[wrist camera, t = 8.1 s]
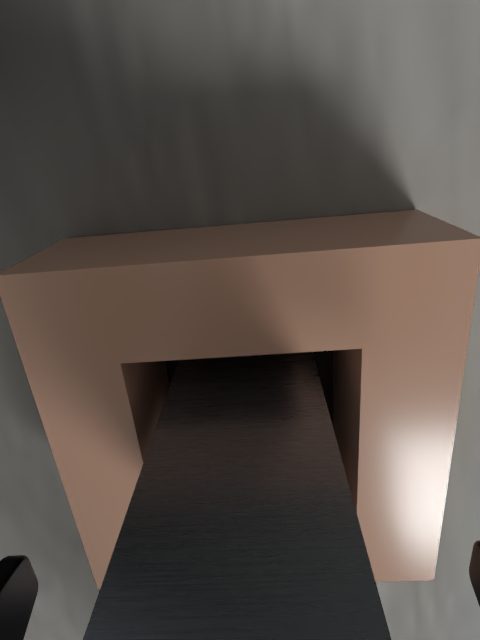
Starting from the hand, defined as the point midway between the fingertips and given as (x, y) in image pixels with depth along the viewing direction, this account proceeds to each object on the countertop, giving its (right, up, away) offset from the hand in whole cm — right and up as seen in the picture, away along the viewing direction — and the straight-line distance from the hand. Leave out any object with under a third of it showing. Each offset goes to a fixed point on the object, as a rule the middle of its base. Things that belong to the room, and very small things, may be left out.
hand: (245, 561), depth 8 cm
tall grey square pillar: (0, +3, +7) cm, 7 cm away
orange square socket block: (0, +3, +7) cm, 7 cm away
